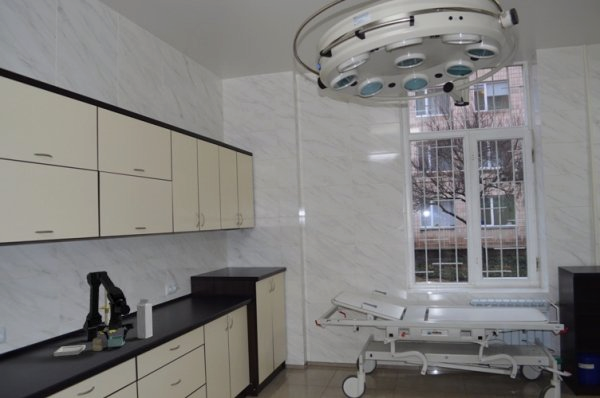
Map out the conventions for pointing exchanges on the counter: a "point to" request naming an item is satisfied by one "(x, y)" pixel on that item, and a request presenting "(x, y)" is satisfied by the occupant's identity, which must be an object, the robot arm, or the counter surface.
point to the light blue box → (115, 341)
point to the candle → (106, 311)
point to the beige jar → (98, 344)
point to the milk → (144, 319)
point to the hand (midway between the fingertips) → (116, 342)
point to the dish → (69, 350)
